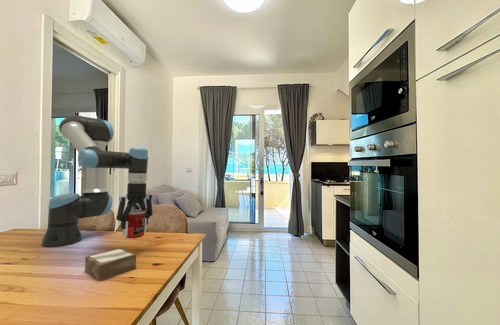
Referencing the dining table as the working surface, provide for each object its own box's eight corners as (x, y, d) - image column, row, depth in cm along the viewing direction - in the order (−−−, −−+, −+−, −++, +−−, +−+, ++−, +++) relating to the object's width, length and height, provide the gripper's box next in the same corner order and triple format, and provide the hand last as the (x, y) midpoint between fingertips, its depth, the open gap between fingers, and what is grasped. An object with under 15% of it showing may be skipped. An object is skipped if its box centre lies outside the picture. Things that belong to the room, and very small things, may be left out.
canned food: (136, 239, 95) (137, 213, 95) (120, 237, 97) (121, 211, 97) (148, 234, 103) (149, 210, 103) (132, 232, 104) (134, 208, 104)
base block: (84, 271, 80) (85, 256, 81) (120, 260, 90) (120, 247, 90) (99, 281, 73) (100, 265, 74) (135, 268, 83) (136, 254, 83)
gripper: (116, 184, 90) (113, 241, 89) (162, 182, 106) (160, 231, 106) (108, 182, 94) (105, 237, 93) (153, 181, 111) (151, 228, 110)
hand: (134, 234), depth 100 cm, fingers closed on canned food, 8 cm apart
